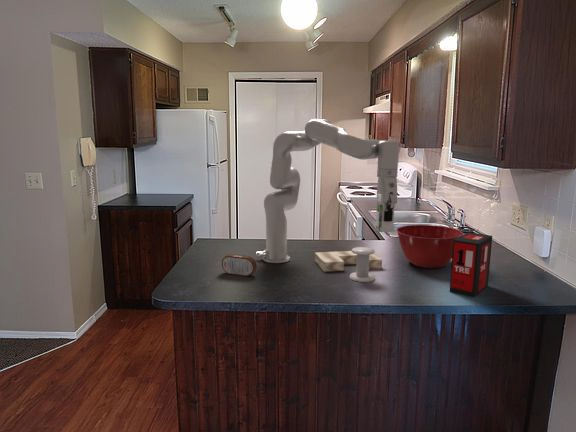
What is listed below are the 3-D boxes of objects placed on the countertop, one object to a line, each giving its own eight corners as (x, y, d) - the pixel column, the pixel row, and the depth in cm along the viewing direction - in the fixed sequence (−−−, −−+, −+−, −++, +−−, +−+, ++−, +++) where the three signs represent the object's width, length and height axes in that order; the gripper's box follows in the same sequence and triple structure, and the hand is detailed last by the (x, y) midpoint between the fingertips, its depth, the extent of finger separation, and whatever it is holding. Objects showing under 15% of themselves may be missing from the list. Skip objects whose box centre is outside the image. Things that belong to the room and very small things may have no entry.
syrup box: (374, 229, 179) (376, 192, 177) (389, 229, 180) (391, 192, 177) (378, 232, 174) (380, 194, 171) (393, 232, 174) (395, 194, 171)
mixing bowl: (383, 264, 204) (384, 230, 201) (413, 252, 224) (415, 221, 221) (443, 278, 185) (446, 241, 182) (470, 263, 205) (473, 230, 203)
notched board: (324, 271, 193) (324, 262, 192) (314, 260, 208) (314, 252, 207) (381, 268, 197) (382, 259, 197) (368, 258, 213) (368, 250, 212)
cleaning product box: (473, 297, 164) (478, 243, 160) (449, 291, 169) (453, 239, 166) (487, 285, 176) (492, 235, 173) (464, 280, 182) (468, 232, 178)
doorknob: (354, 282, 179) (355, 253, 176) (346, 274, 188) (347, 247, 186) (378, 281, 180) (379, 252, 178) (369, 273, 190) (370, 246, 188)
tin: (257, 275, 187) (256, 256, 185) (254, 278, 184) (253, 258, 182) (224, 271, 192) (223, 252, 190) (220, 274, 189) (220, 254, 187)
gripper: (405, 175, 165) (402, 223, 168) (388, 171, 182) (385, 215, 185) (386, 175, 164) (383, 224, 167) (370, 171, 180) (368, 215, 184)
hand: (384, 219), depth 176 cm, fingers closed on syrup box, 6 cm apart
